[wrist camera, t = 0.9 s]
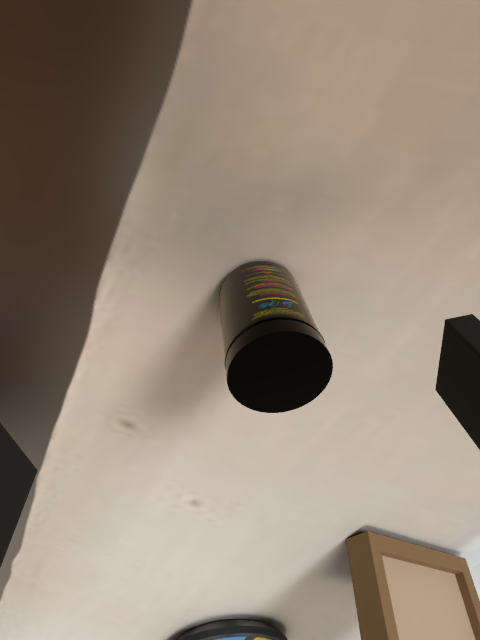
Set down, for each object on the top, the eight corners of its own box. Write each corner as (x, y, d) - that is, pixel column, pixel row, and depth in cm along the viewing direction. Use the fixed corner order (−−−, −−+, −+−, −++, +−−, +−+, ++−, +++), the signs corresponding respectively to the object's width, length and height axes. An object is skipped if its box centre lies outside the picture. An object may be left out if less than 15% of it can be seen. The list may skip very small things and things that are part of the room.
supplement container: (206, 271, 32) (211, 350, 23) (287, 245, 31) (323, 316, 22) (231, 335, 35) (244, 424, 27) (303, 313, 35) (340, 396, 26)
